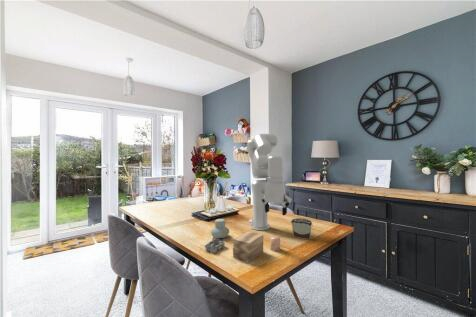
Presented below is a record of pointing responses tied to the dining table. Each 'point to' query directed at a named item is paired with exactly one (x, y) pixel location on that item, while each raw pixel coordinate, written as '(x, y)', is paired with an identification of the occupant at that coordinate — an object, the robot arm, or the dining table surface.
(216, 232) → the air freshener
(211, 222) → the dining table surface
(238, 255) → the tower base
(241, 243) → the tower top
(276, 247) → the pink rounded capsule
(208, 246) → the egg carton
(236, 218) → the dining table surface
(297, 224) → the food container
